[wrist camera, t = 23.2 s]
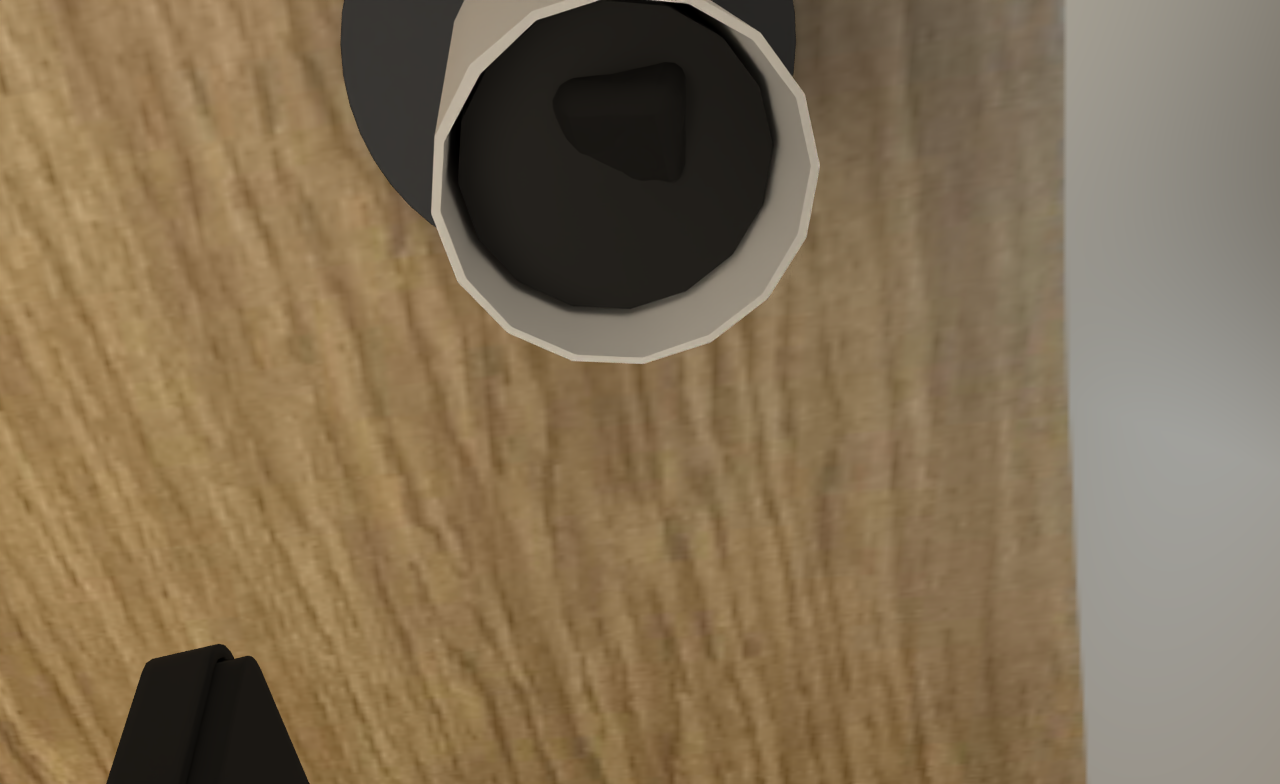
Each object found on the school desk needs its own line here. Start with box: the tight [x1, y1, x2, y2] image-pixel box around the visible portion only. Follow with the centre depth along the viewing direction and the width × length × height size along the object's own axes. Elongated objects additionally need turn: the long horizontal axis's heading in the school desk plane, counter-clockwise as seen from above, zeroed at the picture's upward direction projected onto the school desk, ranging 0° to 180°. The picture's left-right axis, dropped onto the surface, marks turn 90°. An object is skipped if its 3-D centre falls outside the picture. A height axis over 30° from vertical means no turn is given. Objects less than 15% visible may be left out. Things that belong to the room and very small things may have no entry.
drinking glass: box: [431, 0, 820, 364], centre depth 25 cm, size 7×7×10 cm
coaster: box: [341, 0, 796, 228], centre depth 29 cm, size 11×11×1 cm
